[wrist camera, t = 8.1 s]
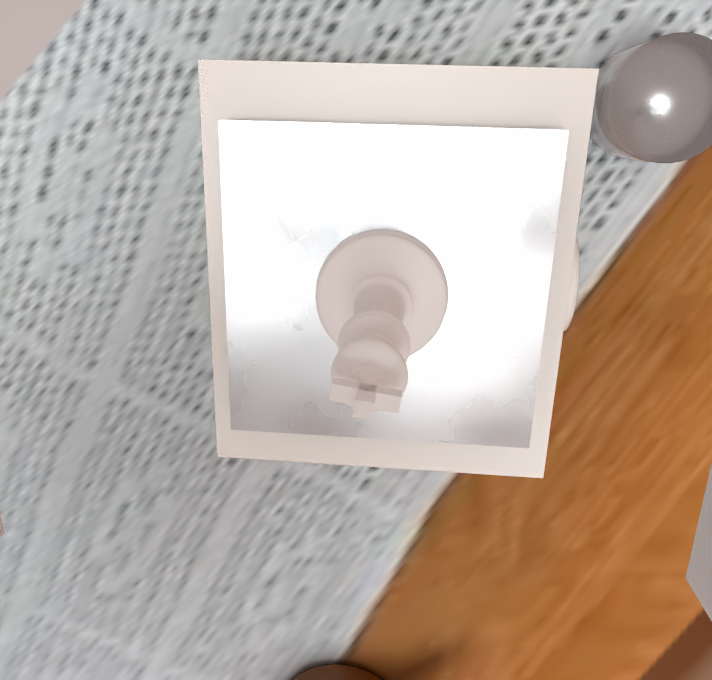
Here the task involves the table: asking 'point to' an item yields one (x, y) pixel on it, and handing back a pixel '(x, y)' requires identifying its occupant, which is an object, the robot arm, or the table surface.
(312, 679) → the mug
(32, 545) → the table surface
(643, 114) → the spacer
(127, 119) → the table surface
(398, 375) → the chess piece
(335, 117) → the scale
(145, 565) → the table surface
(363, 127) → the textured square plate
